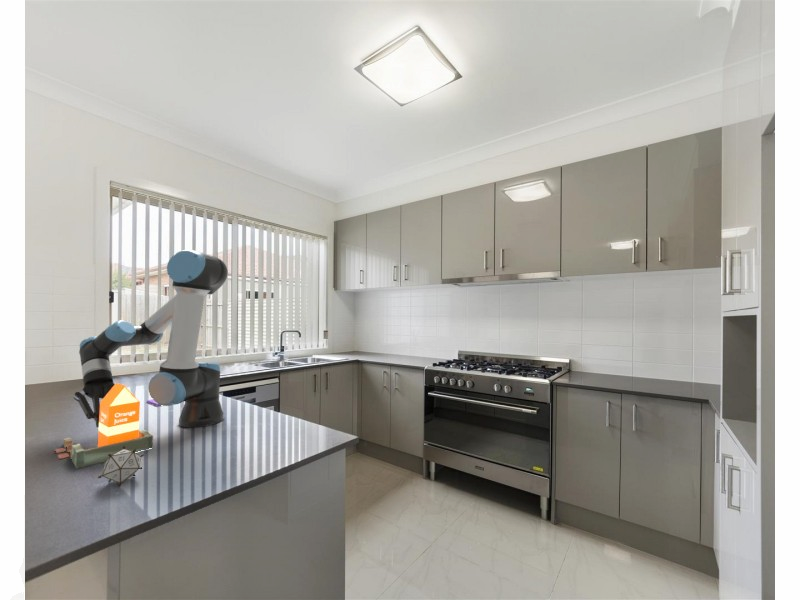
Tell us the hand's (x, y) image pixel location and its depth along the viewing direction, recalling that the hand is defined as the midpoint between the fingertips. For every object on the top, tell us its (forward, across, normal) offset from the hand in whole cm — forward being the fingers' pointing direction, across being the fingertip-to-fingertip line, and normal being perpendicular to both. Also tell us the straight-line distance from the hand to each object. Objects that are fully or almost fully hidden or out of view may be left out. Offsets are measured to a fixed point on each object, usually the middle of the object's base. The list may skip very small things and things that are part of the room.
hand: (105, 434), depth 105 cm
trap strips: (+1, +9, -4) cm, 10 cm away
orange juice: (+8, -2, +2) cm, 8 cm away
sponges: (-31, -29, -38) cm, 57 cm away
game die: (+26, +3, +21) cm, 33 cm away
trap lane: (+4, 0, -1) cm, 4 cm away
